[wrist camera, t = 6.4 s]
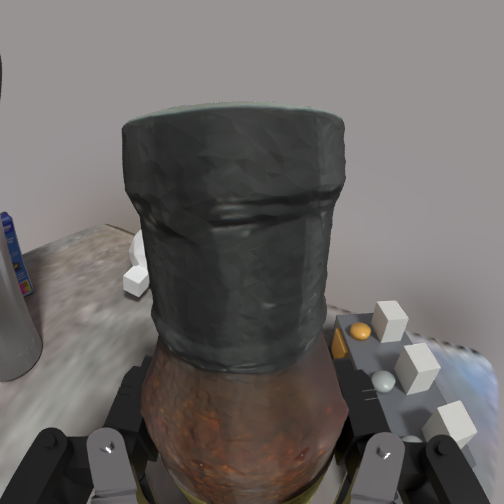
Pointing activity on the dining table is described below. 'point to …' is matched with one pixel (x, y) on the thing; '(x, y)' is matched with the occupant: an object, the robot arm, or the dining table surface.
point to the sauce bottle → (239, 294)
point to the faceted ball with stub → (137, 268)
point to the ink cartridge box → (16, 255)
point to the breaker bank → (401, 377)
